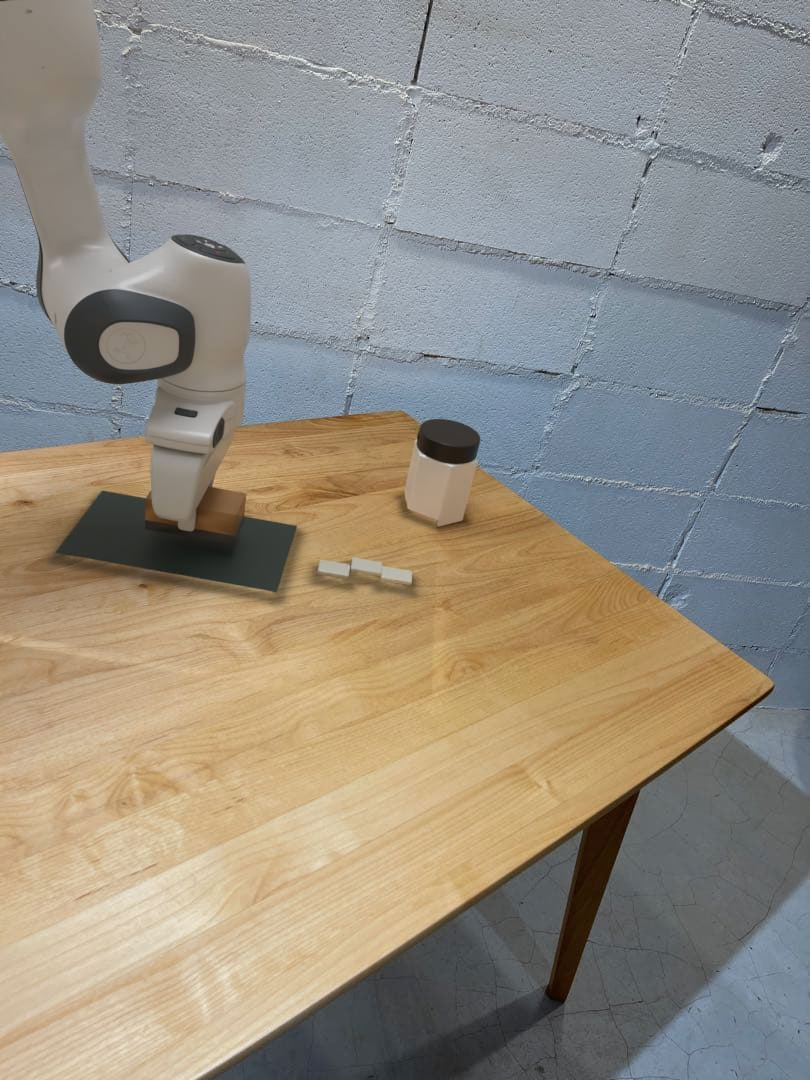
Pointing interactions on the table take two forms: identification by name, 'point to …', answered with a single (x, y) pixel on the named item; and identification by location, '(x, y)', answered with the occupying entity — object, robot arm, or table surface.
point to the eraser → (206, 517)
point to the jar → (442, 470)
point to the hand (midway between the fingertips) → (195, 513)
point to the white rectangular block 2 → (366, 566)
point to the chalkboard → (179, 545)
